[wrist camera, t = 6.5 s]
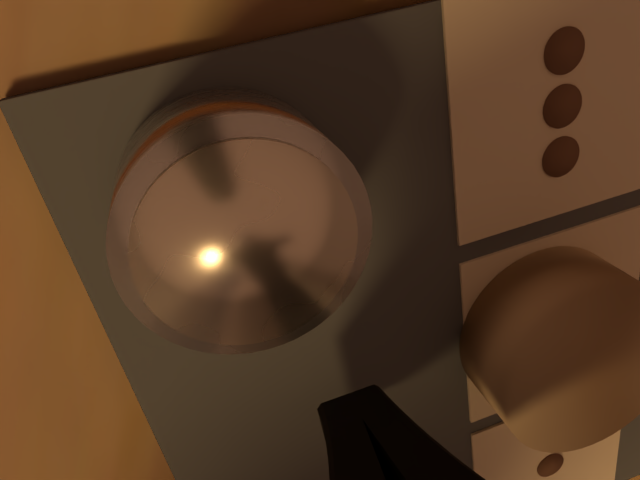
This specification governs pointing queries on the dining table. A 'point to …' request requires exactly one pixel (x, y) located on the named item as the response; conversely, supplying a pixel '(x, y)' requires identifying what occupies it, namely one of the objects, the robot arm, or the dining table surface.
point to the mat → (379, 217)
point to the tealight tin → (235, 223)
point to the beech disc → (557, 348)
